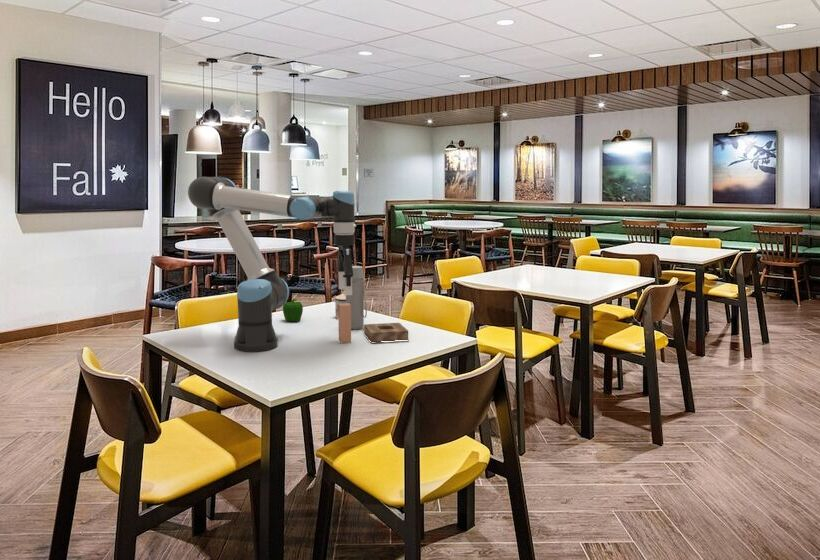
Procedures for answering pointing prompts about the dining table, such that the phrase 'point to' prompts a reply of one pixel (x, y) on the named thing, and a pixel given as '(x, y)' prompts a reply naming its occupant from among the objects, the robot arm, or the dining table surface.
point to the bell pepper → (292, 310)
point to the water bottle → (357, 298)
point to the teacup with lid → (339, 300)
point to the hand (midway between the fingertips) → (345, 292)
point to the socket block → (385, 332)
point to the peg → (344, 322)
